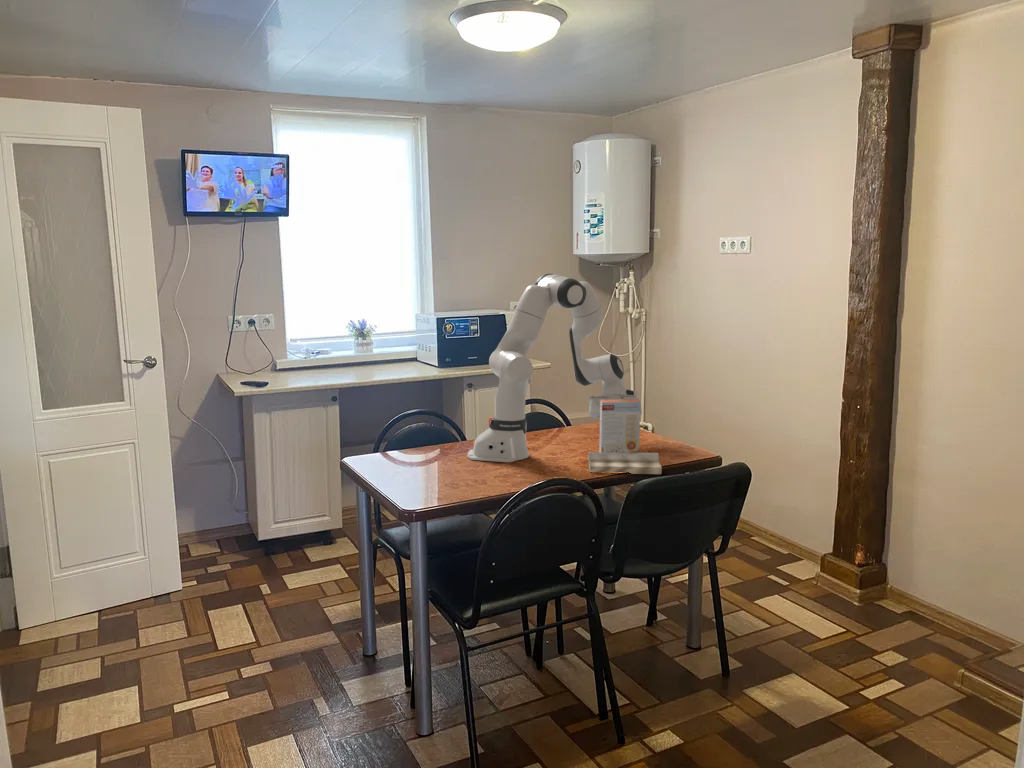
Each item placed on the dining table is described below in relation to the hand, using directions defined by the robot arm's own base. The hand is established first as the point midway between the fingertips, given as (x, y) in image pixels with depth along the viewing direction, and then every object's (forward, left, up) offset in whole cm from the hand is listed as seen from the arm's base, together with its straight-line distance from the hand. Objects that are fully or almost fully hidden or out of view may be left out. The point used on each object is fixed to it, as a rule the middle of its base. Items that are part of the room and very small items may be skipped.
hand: (616, 426), depth 296 cm
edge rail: (0, -28, -8) cm, 29 cm away
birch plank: (0, -32, -8) cm, 33 cm away
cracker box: (0, -13, -8) cm, 15 cm away
